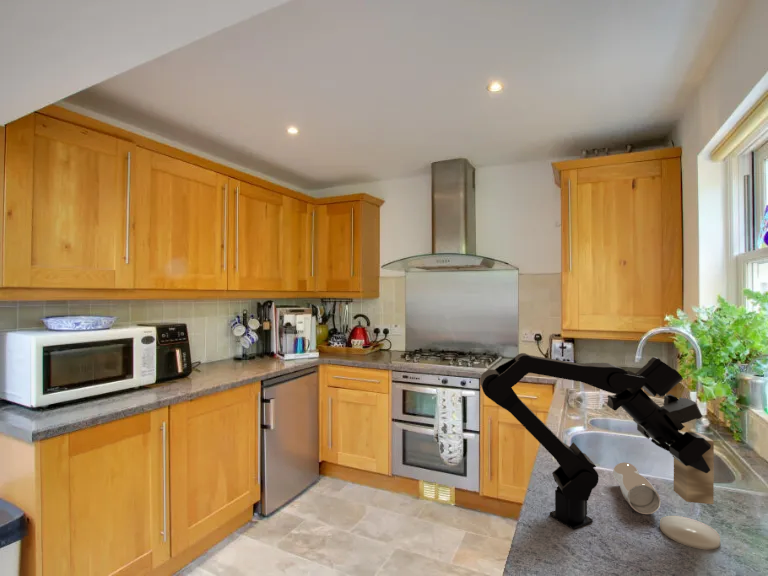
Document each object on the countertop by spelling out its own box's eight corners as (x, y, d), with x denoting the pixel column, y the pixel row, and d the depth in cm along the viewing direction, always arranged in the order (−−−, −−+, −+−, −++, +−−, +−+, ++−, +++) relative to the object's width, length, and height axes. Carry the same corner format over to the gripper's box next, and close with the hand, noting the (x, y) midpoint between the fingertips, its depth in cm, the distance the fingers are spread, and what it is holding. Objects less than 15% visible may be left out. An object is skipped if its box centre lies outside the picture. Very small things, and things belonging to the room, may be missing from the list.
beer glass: (629, 455, 106) (647, 478, 92) (647, 480, 104) (668, 506, 90) (605, 468, 107) (619, 492, 93) (622, 492, 106) (640, 521, 92)
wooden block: (686, 501, 84) (686, 438, 85) (673, 490, 89) (673, 431, 90) (713, 504, 83) (713, 440, 84) (698, 492, 88) (699, 432, 89)
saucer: (703, 555, 77) (703, 548, 78) (649, 528, 86) (649, 522, 86) (730, 541, 82) (730, 535, 82) (676, 516, 91) (676, 511, 91)
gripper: (699, 396, 78) (764, 458, 76) (651, 377, 97) (702, 427, 95) (654, 434, 79) (717, 496, 77) (615, 408, 98) (665, 458, 96)
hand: (700, 466), depth 86 cm, fingers closed on wooden block, 5 cm apart
